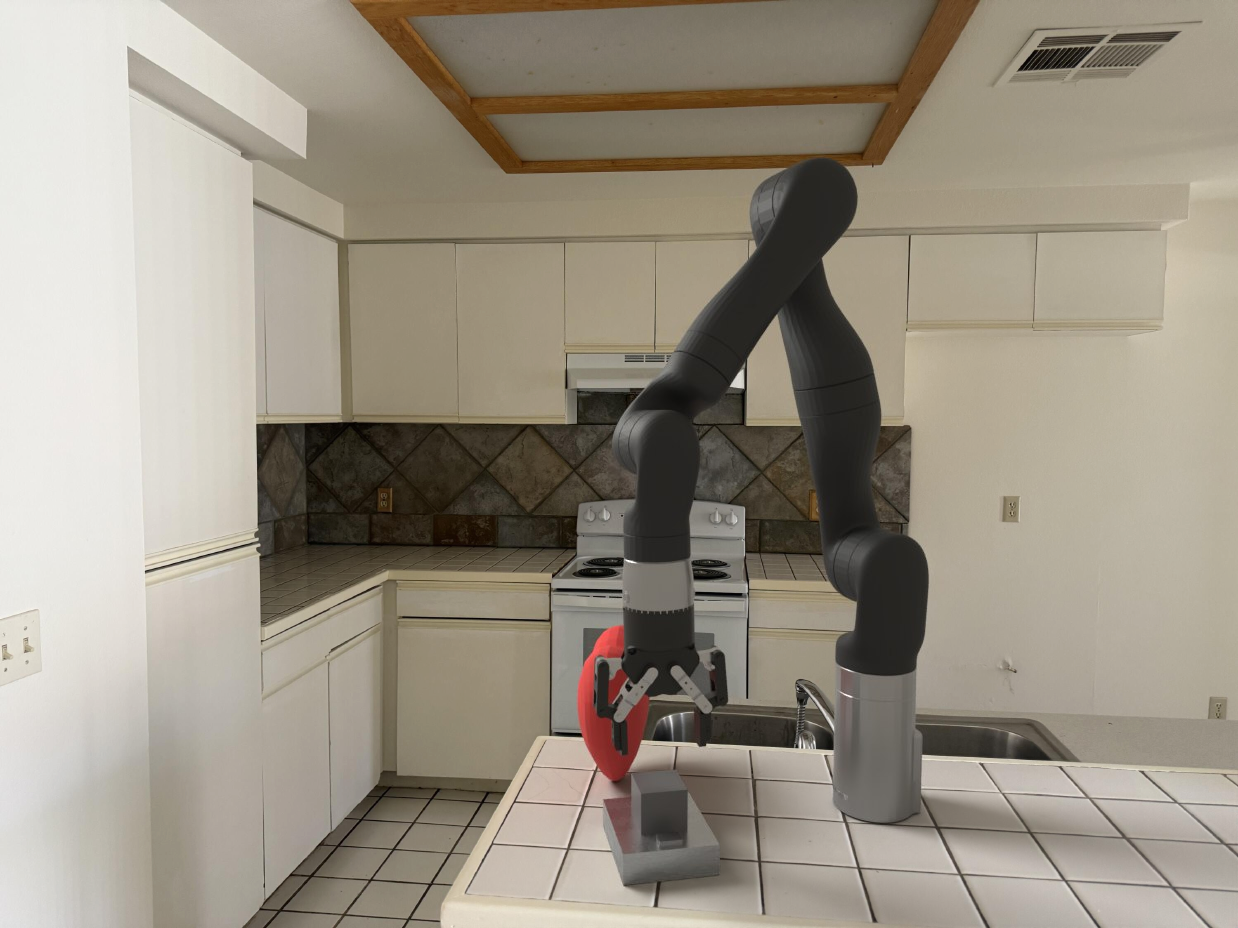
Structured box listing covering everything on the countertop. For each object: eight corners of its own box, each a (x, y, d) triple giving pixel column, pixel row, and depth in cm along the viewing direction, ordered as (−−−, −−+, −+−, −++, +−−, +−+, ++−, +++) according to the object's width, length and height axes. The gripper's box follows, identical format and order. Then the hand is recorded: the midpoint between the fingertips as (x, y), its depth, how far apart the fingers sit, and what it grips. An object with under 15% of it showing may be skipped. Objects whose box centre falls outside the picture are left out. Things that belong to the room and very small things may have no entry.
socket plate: (688, 818, 98) (688, 785, 98) (719, 874, 86) (719, 837, 86) (603, 826, 96) (603, 793, 96) (623, 884, 85) (623, 847, 84)
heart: (640, 820, 98) (640, 660, 96) (566, 815, 99) (565, 657, 98) (655, 749, 118) (655, 617, 116) (594, 746, 119) (594, 615, 117)
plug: (675, 833, 94) (675, 769, 94) (687, 857, 89) (687, 789, 89) (631, 838, 93) (631, 773, 93) (641, 862, 88) (641, 793, 88)
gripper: (712, 587, 94) (715, 728, 96) (586, 596, 92) (590, 741, 93) (734, 602, 87) (736, 755, 88) (597, 613, 84) (602, 770, 86)
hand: (661, 748), depth 91 cm, fingers open, 8 cm apart
